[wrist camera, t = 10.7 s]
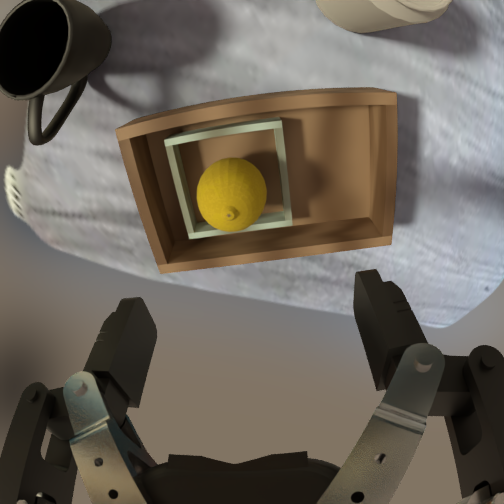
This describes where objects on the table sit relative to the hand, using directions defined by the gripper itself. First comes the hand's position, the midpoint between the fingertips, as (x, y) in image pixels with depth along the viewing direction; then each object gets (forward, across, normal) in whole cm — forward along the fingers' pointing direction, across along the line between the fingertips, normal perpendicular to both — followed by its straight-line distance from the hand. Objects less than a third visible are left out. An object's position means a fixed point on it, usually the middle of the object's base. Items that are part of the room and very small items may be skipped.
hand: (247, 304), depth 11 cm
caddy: (+20, -1, +2) cm, 20 cm away
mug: (+20, +14, -13) cm, 27 cm away
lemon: (+19, +2, +2) cm, 19 cm away
